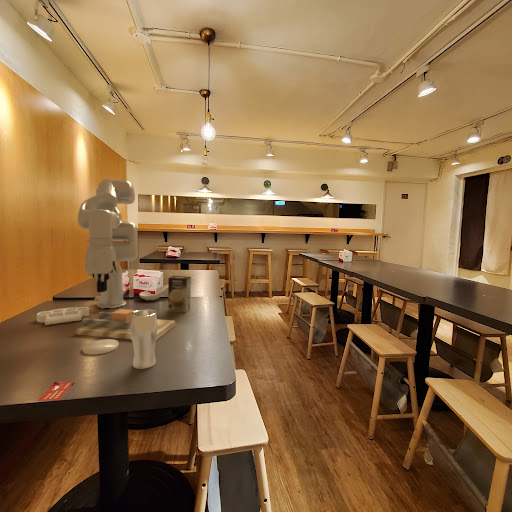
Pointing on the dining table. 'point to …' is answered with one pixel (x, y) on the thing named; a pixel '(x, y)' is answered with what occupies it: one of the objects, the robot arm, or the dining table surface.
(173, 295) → the coffee box
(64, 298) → the dining table surface
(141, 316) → the beer glass
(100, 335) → the board
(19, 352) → the dining table surface
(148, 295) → the spoon rest
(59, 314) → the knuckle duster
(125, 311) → the block
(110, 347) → the coaster
